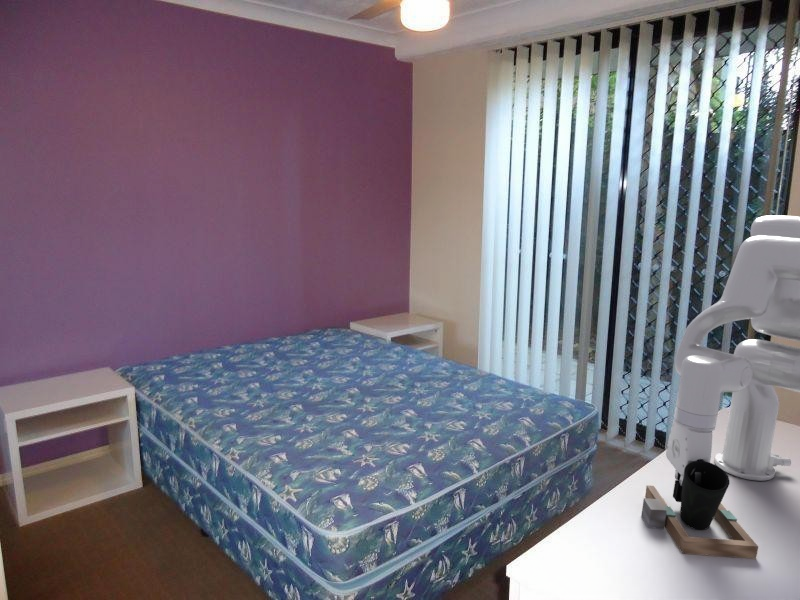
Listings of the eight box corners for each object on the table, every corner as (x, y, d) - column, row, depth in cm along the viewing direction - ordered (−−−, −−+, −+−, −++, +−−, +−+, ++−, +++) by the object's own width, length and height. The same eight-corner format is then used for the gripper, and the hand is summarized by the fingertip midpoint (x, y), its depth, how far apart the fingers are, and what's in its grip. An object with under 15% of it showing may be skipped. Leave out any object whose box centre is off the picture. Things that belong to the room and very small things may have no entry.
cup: (721, 537, 110) (734, 493, 104) (678, 532, 112) (689, 489, 106) (711, 505, 117) (723, 462, 111) (670, 500, 119) (680, 458, 113)
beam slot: (708, 500, 123) (710, 483, 122) (756, 558, 104) (760, 539, 103) (628, 494, 124) (630, 477, 123) (662, 552, 105) (665, 532, 104)
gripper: (662, 402, 123) (650, 480, 127) (691, 431, 108) (677, 519, 112) (698, 404, 122) (685, 483, 126) (732, 434, 108) (717, 522, 111)
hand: (681, 500), depth 119 cm, fingers closed
